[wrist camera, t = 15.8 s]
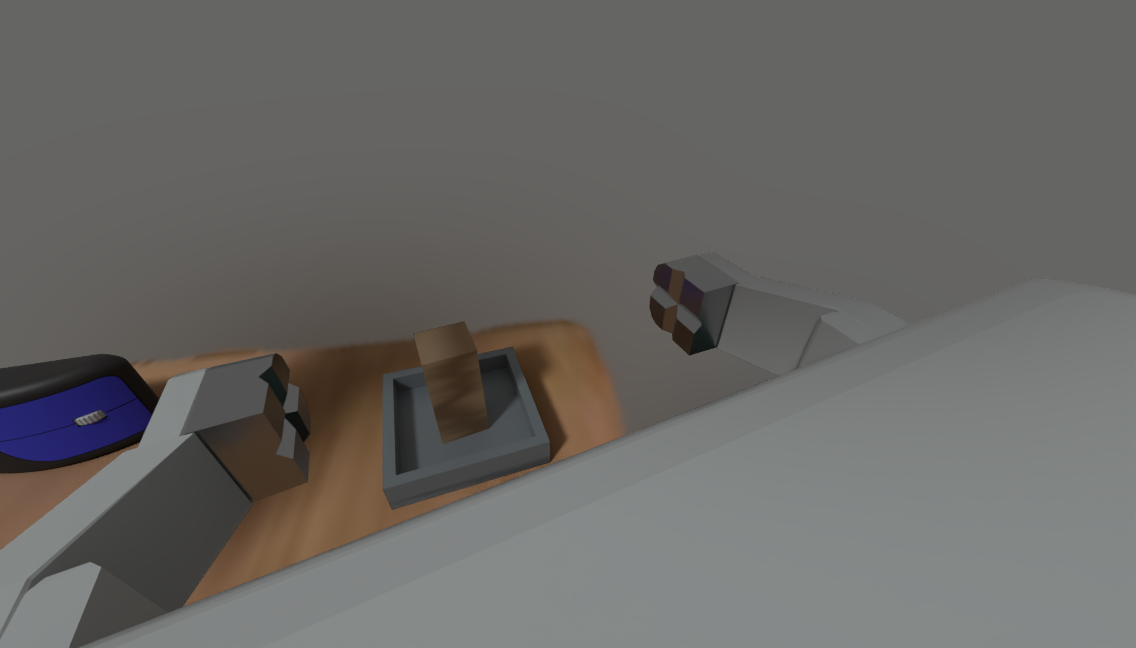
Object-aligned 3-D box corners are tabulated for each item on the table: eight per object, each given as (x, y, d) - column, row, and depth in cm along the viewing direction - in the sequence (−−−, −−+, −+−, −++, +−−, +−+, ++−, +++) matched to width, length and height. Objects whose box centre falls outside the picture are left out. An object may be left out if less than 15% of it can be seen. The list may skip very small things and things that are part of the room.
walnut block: (442, 444, 39) (421, 365, 33) (434, 410, 42) (413, 333, 36) (489, 428, 41) (476, 350, 35) (477, 397, 44) (464, 321, 38)
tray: (391, 509, 35) (382, 489, 33) (389, 394, 45) (382, 374, 44) (550, 461, 39) (549, 441, 37) (514, 366, 49) (512, 346, 48)
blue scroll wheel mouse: (-66, 496, 36) (-184, 423, 30) (-23, 453, 39) (-121, 380, 33) (159, 452, 39) (92, 380, 34) (180, 416, 43) (122, 345, 37)
